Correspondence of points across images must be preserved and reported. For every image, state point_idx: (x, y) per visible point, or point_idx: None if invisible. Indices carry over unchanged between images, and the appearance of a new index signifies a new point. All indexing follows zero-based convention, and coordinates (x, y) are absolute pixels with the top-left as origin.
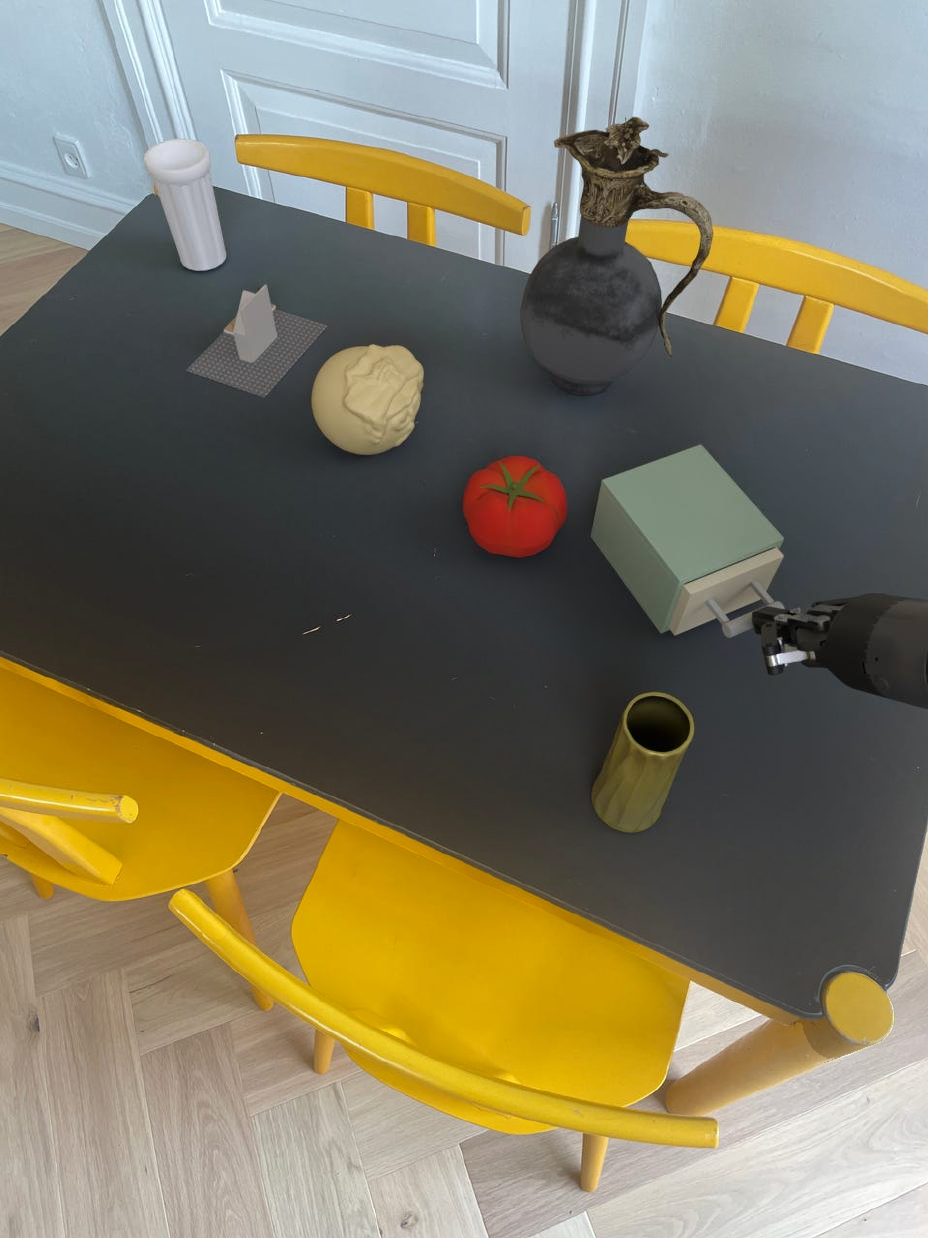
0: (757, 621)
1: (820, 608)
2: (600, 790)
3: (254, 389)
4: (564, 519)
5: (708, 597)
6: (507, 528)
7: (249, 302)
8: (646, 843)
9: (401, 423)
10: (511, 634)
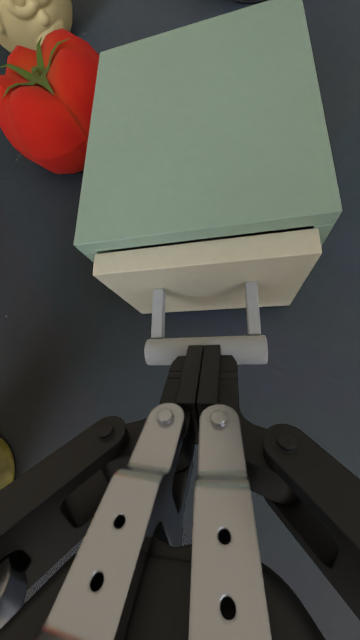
0: (169, 374)
1: (212, 536)
2: None
3: None
4: None
5: (152, 286)
6: (11, 126)
7: None
8: None
9: (18, 6)
10: (17, 252)
